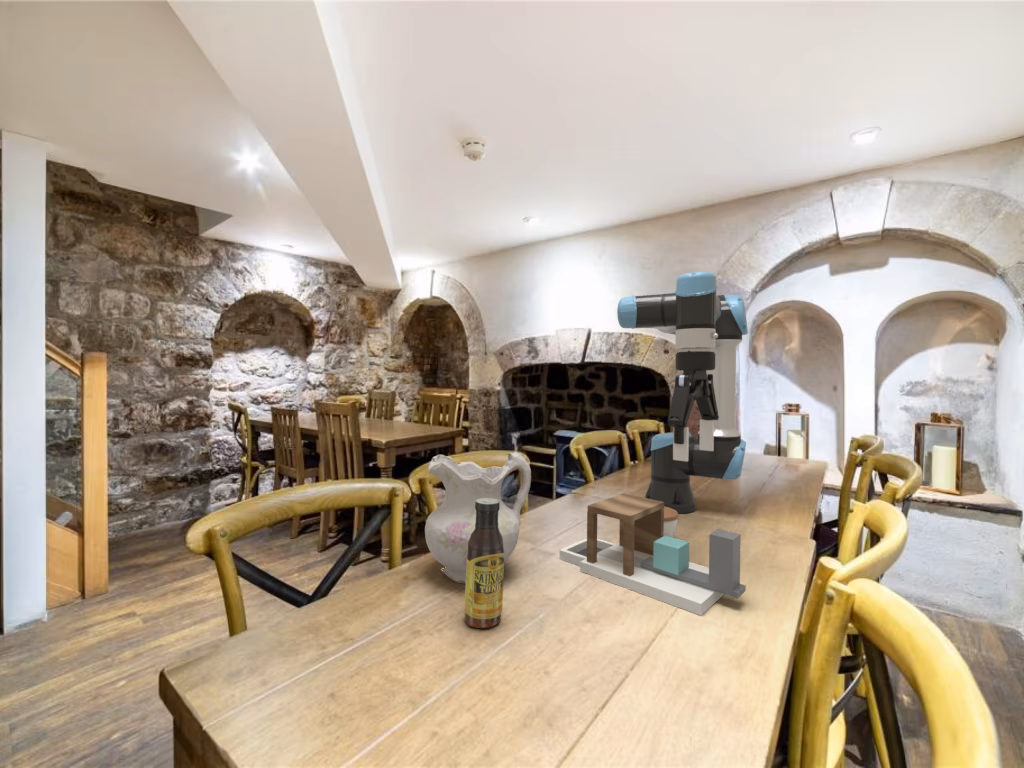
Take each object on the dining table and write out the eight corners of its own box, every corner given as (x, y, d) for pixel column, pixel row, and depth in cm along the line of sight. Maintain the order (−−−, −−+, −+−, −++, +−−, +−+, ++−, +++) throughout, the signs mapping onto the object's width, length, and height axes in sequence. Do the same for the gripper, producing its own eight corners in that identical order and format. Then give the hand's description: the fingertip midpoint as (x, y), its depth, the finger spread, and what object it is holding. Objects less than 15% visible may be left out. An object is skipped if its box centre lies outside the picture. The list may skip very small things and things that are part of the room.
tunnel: (622, 544, 105) (622, 493, 105) (663, 556, 98) (664, 502, 98) (586, 561, 95) (587, 505, 94) (629, 576, 88) (630, 516, 87)
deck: (595, 542, 111) (595, 534, 111) (733, 585, 89) (733, 574, 89) (553, 561, 99) (553, 551, 99) (701, 615, 77) (701, 603, 77)
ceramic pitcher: (506, 552, 107) (503, 446, 108) (549, 579, 90) (544, 452, 91) (415, 569, 98) (413, 453, 99) (444, 603, 80) (440, 461, 81)
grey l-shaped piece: (649, 561, 94) (650, 513, 94) (745, 590, 82) (746, 535, 81) (640, 566, 92) (641, 517, 91) (738, 598, 79) (739, 541, 79)
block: (664, 560, 93) (665, 535, 93) (689, 567, 89) (689, 541, 89) (653, 567, 89) (653, 541, 89) (678, 575, 86) (678, 548, 86)
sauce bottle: (473, 634, 71) (473, 508, 71) (458, 616, 76) (459, 498, 76) (510, 624, 74) (511, 503, 74) (494, 607, 79) (494, 494, 79)
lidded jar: (629, 546, 109) (629, 507, 109) (635, 532, 119) (635, 496, 119) (676, 553, 105) (677, 512, 105) (678, 537, 115) (679, 500, 115)
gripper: (689, 349, 80) (688, 468, 81) (734, 351, 99) (733, 448, 99) (649, 350, 85) (648, 462, 86) (699, 352, 104) (698, 444, 104)
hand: (694, 455), depth 93 cm, fingers open, 13 cm apart
